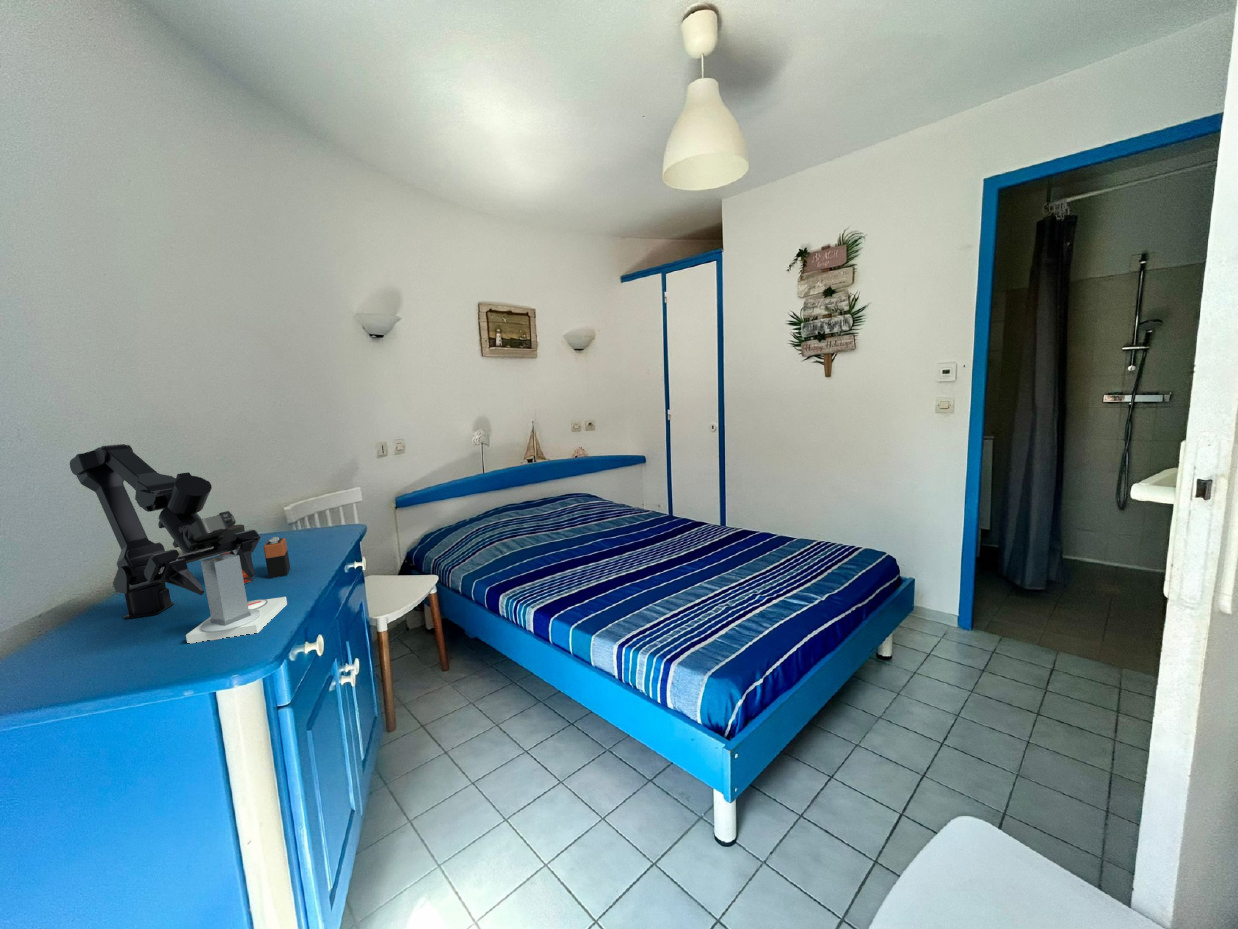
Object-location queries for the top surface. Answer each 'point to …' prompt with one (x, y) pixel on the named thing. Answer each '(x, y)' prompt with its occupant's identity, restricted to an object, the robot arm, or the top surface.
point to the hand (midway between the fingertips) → (229, 584)
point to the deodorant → (227, 538)
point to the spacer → (225, 589)
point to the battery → (276, 557)
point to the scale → (239, 622)
